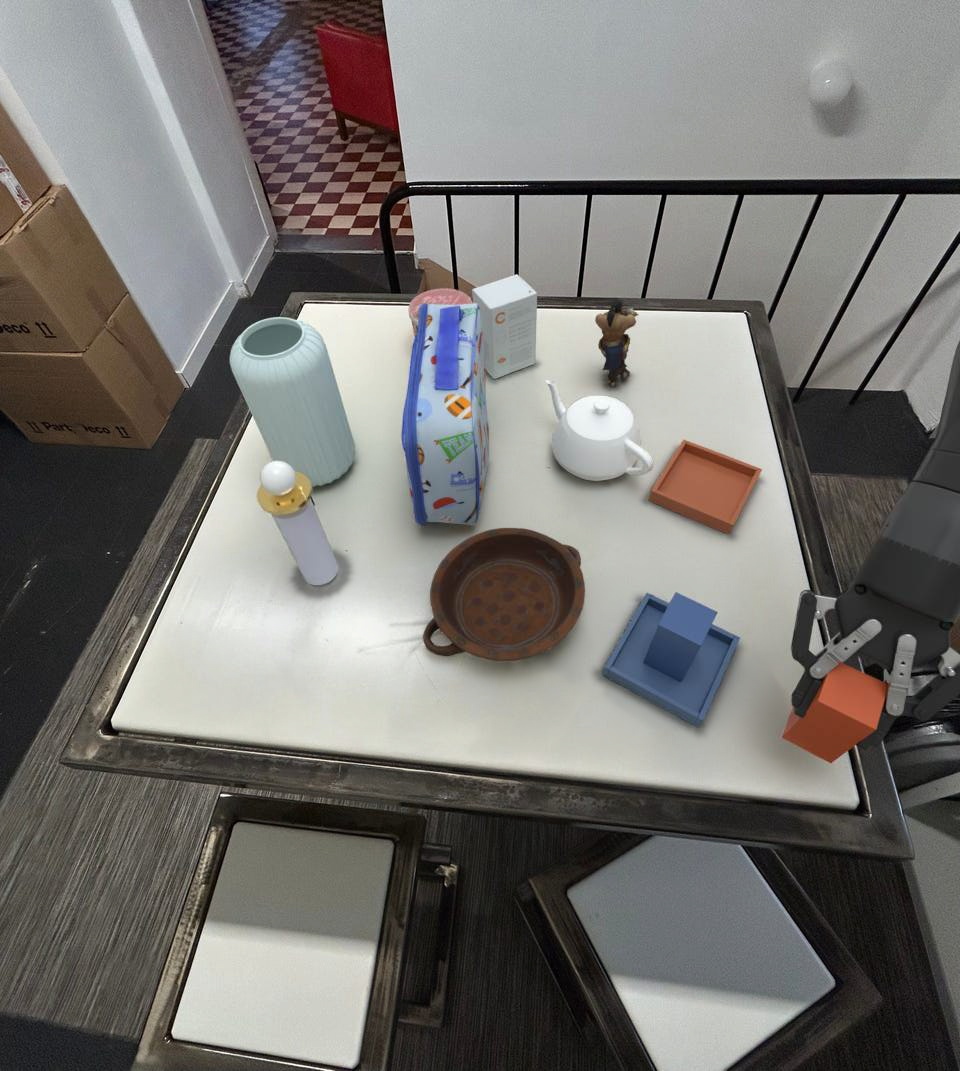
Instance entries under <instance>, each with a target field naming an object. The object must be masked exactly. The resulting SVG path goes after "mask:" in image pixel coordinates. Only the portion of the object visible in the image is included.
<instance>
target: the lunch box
mask: <svg viewBox="0 0 960 1071" xmlns="http://www.w3.org/2000/svg"><path fill="white" fill-rule="evenodd" d="M414 327H415V331H416V336H414V339H413V342H412V347H411V355H410V360H409V361H410V362H409V371H408V372H409V373H408V382H407V389H406V394H405V395H406V396H405V401H404V405H403V412H402V421H401V422H402V423H401V424H402V425H401V446H402V449H403V452H404V456H405V464H406V465H405V466H406V476H407V482H408V488H409V493H410V498H411V499H410V500H411V504H412V511H413V515H414V520H415V523H416V524H417V525H418V526H420V527H425V526H426V525H427V523H444V524H445V523H447V524H455V525H468V526H475V524H477V522H478V521H479V515H480V510H481V507H482V501H483V494H484V488H485V482H486V477H487V470H488V465H489V454H490V432H489V431H490V429H489V427H490V426H489V418H488V408H487V396H486V394H487V393H486V391H487V389H486V372H485V371H486V369H485V368H484V367H485V359H484V339H483V330H482V319H481V313H480V308H479V305H478V304H477V303H473V302H472V303H469V304H463V305H437V304H425V303H424V304H423V305H421V306H420V307H419V311H418V327H417V326H416V325H414Z"/></svg>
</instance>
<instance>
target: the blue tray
mask: <svg viewBox="0 0 960 1071" xmlns="http://www.w3.org/2000/svg"><path fill="white" fill-rule="evenodd" d="M669 603H670V602H668V601H666V600H663V599H662V598H660V597H657V596H656V595H652V594H651V593H649V592H646V593H645V595H644V596H643V598H642V600H641V602H640V603H639V605H638V607H637V609H636V611H635V612H634V614H633V615H632V618H631V620H630V621H629V623H628V625H627V627H626V628H625V630H624V632H623V633H622V635H621V637H620V639H619V640H618V642H617V643H616V646H615V647H614V649H613V651H612V653H611V655H610V657H609V658H608V660H607V662H606V663H605V665H604V668H603V670H602V676H604V677H606V678H607V679H609V680H611V681H612V682H614V683H616V684H618V685H620V686H621V687H624V688H625V689H626V690H627V689H628V690H629V691H631V692H633V693H634V694H637V695H638V696H640V697H642V698H643V699H645V700H647V701H649V702H651V703H653V704H654V705H656V706H658V707H660V708H662V709H664V710H666V711H667V712H669V713H671V714H673V715H674V716H676V717H678V718H680V719H681V720H683V721H686V722H687V723H689V724H691V725H693V726H695V727H696V728H699V727H700V726H701V725H702V723H703V722H704V720H705V718H706V715H707V714H708V711H709V709H710V707H711V705H712V702H713V701H714V698H715V695H716V693H717V691H718V689H719V686H720V685H721V683H722V680H723V677H724V675H725V673H726V672H727V669H728V666H729V664H730V662H731V660H732V657H733V655H734V652H735V650H736V648H737V647H738V644H739V641H740V639H741V637H740V636H738V635H736V634H735V633H732V632H730V631H728V630H725V629H724V628H721V627H719V626H717V625H715V624H713V623H712V625H711V627H710V629H709V631H708V633H707V635H706V638H705V640H704V642H703V644H702V646H701V648H700V650H699V651H698V653H697V655H696V657H695V659H694V660H693V662H692V664H691V666H690V668H689V669H688V671H687V673H686V675H685V677H684V679H683V680H682V682H679V681H677V680H675V679H673V678H671V677H670V676H668V675H666V674H664V673H662V672H660V671H658V670H656V669H654V668H652V667H651V666H649V665H647V664H645V663H643V661H644V659H645V656H646V654H647V651H648V649H649V646H650V644H651V641H652V639H653V636H654V634H655V631H656V629H657V626H658V624H659V622H660V620H661V618H662V616H663V615H664V613H665V611H666V609H667V607H668V605H669Z"/></svg>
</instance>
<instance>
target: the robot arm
mask: <svg viewBox="0 0 960 1071" xmlns="http://www.w3.org/2000/svg"><path fill="white" fill-rule="evenodd" d="M879 529H880V530H879V532H878V533H877V536H876V537H875V540H874V541H873V543H872V545H871V547H870V549H869V550H868V552H867V553H866V555H865V557H864V559H863V562H862V563H861V565H860V567H859V568H858V571H857V572H856V573H855V576H854V578H853V579H852V581H851V583H850V585H849V586H848V587H847V588H846V589H845V590H843V591H841V592H840V593H838V594H837V595H836V596H832V595H827V594H826V595H825V594H819V593H815V592H814V591H813V590H810V589H804V590H802V591H801V592H800V593H799V596H798V597H799V598H798V604H797V609H796V614H795V621H794V627H793V633H792V638H791V643H790V644H791V645H790V652H791V658H792V659H793V660H794V661H796V662H797V663H798V664H800V665H801V666H802V668H804V670H803V673H802V674H801V677H800V678H799V679H798V680H799V681H798V682H797V684H796V685H795V688H794V689H793V691H792V693H791V696H790V697H791V698H790V702H791V706H792V707H793V706H794V714H795V715H797V716H799V717H801V718H804V717H805V715H806V712H807V710H808V708H809V706H810V705H811V703H812V701H813V699H814V697H815V696H816V694H817V692H818V690H819V689H820V687H821V685H822V683H823V682H822V678H823V677H824V676H825V675H827V674H828V673H829V672H830V671H831V670H832V669H834V668H835V667H836V666H837V665H838V664H840V663H843V664H844V662H845V661H847V660H848V659H849V658H850V657H851V656H852V655H853V656H855V657H858V658H861V659H864V660H865V659H866V660H870V661H872V662H874V663H875V664H876V665H878V666H879V667H880V668H883V682H884V683H886V684H888V689H887V694H886V697H885V701H884V704H883V708H882V711H881V715H880V718H879V722H878V725H877V729H876V730H875V731H874V732H872V733H871V734H870V735H868V736H867V737H866V738H864V739H863V740H862V741H860V742H859V743H857V744H856V745H855V747H857V748H860V749H862V750H864V751H867V750H868V749H869V748H870V746H871V747H872V748H877V747H878V746H880V745H881V744H882V742H883V741H884V739H885V737H886V736H887V734H888V732H889V730H890V729H891V727H892V726H893V724H894V723H895V721H896V719H898V718H900V717H912V718H916V719H917V720H918V721H922V722H925V721H929V720H931V718H934V716H935V715H936V714H937V713H939V712H940V711H941V710H942V709H944V708H945V707H946V706H947V705H949V703H952V701H953V700H954V699H956V698H957V697H958V696H959V695H960V653H958V652H957V651H956V650H955V649H953V648H952V647H951V631H952V629H953V627H954V626H955V625H956V623H957V621H958V620H959V618H960V340H959V341H958V343H957V345H956V348H955V351H954V355H953V359H952V362H951V368H950V372H949V377H948V381H947V387H946V392H945V396H944V400H943V404H942V408H941V412H940V419H939V423H938V427H937V432H936V434H935V437H934V440H933V441H932V443H931V445H930V447H928V450H927V452H926V454H925V455H924V458H923V459H922V461H921V462H920V464H919V466H918V468H917V470H916V471H915V474H914V475H913V476H912V479H911V481H910V482H909V485H908V486H907V487H906V489H905V490H904V492H903V493H902V494H901V495H900V497H899V498H898V499H897V501H896V502H895V503H894V505H893V506H892V508H891V510H890V512H889V513H888V516H887V517H886V518H884V520H883V521H882V523H881V525H880V528H879ZM830 610H833V611H834V614H835V618H836V622H837V626H838V632H837V634H836V635H834V636H833V637H832V638H831V639H830V640H829V641H827V642H826V644H825V645H824V647H822V649H820V650H819V651H818V652H817V653H816V654H814V653H813V652H812V651H811V650H810V646H811V645H810V644H811V639H812V633H813V628H814V623H815V620H822V619H823V618H824V617H825V615H826V613H827V612H828V611H830ZM937 657H940V662H938V664H937V667H936V668H937V669H936V670H937V672H938V674H937V675H936V676H934V677H933V678H932V679H930V681H929V682H927V683H926V684H925V685H924V686H923V687H922V688H920V689H919V690H918V691H917V692H915V693H914V694H913V695H912V696H911V697H910V696H907V691H908V690H909V687H910V683H911V677H912V675H911V674H912V669H913V667H915V666H918V665H920V664H922V663H925V662H927V661H930V660H933V659H935V658H937Z"/></svg>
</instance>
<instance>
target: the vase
mask: <svg viewBox="0 0 960 1071" xmlns="http://www.w3.org/2000/svg"><path fill="white" fill-rule="evenodd" d="M331 361H332V360H331V358H330V355H329V352H328V347H327V344H326V342H325V340H324V338H323V336H322V334H321V333H320V332H319V331H318V330H316V328H314V327H313V326H312V325H310V324H309V323H306V322H304V321H302V320H299V319H294V318H291V317H285V316H284V317H283V316H276V317H275V316H273V317H269V318H268V317H267V318H265V319H261V320H258V321H257V322H255V323H252V324H251V325H249V326H248V327H247V328H246V329H244V330H243V332H242V333H241V334H239V335H238V336H237V338H236V339H235V341H234V343H233V344H232V346H231V349H230V355H229V365H230V369H231V373H232V374H233V377H234V379H235V381H236V383H237V385H238V387H239V389H240V392H241V394H242V396H243V398H244V401H245V403H246V405H247V407H248V409H249V412H250V414H251V416H252V418H253V420H254V422H255V425H256V426H257V429H258V431H259V433H260V435H261V437H262V440H263V442H264V444H265V447H266V449H267V451H268V452H269V455H270V457H271V460H272V461H283V462H286V463H287V464H289V465H290V466H291V467H292V468H293V469H294V471H296V472H300V473H302V474H304V475H305V476H306V477H308V479H309V480H310V483H311V485H312V488H314V487H316V486H320V487H322V486H324V485H326V484H331V483H333V481H335V480H338V479H340V478H341V477H342V475H344V474H346V473H347V472H348V470H349V468H350V467H351V466H352V464H353V463H354V459H355V457H356V444H355V440H354V437H353V434H352V429H351V426H350V423H349V420H348V416H347V412H346V410H345V405H344V402H343V400H342V399H343V398H342V396H341V392H340V388H339V385H338V382H337V378H336V375H335V372H334V368H333V365H332V362H331Z"/></svg>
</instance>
